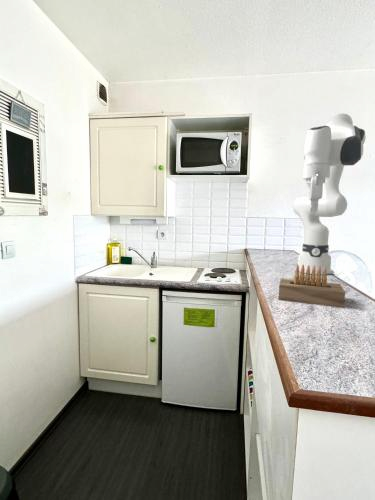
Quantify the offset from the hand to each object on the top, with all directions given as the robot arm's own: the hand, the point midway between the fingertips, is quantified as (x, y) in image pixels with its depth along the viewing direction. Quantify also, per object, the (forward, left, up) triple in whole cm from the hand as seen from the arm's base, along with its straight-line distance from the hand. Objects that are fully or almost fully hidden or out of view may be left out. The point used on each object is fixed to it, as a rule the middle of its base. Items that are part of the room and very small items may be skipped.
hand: (313, 212), depth 101 cm
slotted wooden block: (+9, 0, -30) cm, 31 cm away
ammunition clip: (+9, 0, -30) cm, 31 cm away
